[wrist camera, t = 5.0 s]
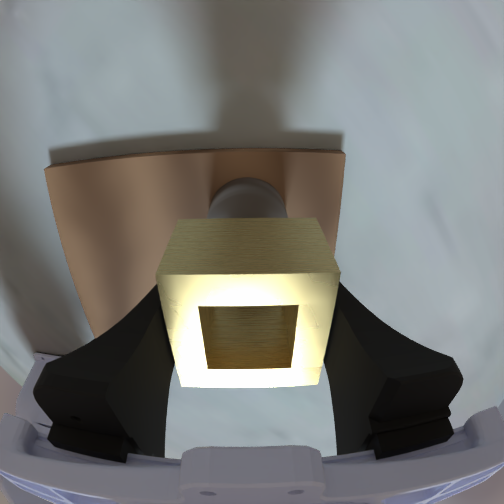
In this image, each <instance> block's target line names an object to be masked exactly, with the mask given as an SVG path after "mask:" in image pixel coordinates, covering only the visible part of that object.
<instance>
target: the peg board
mask: <svg viewBox="0 0 504 504" xmlns="http://www.w3.org/2000/svg"><path fill="white" fill-rule="evenodd" d="M345 155H346V154H345V153H344V152H342V151H341V150H321V149H291V148H232V149H201V150H181V151H166V152H152V153H141V154H130V155H120V156H111V157H102V158H94V159H87V160H79V161H72V162H66V163H59V164H53V165H50V166H48V167H46V168H45V169H44V171H45V177H46V182H47V187H48V191H49V196H50V200H51V205H52V209H53V213H54V217H55V221H56V225H57V229H58V232H59V236H60V240H61V243H62V247H63V250H64V253H65V257H66V260H67V263H68V266H69V269H70V273H71V276H72V279H73V282H74V284H75V287H76V290H77V293H78V296H79V299H80V301H81V304H82V307H83V309H84V312H85V315H86V317H87V320H88V322H89V325H90V327H91V330H92V332H93V334H94V337H95V338H97V337H99V336H100V335H102V334H103V333H105V332H106V331H107V330H109V329H110V328H111V327H113V326H114V325H115V324H116V323H118V322H119V321H120V320H121V319H122V318H124V317H125V316H126V315H127V314H128V313H129V312H130V311H131V310H132V309H133V308H134V307H135V306H136V305H137V304H138V303H139V302H140V301H141V300H142V299H143V298H144V297H145V296H146V295H147V294H148V293H149V292H150V290H151V289H152V288H153V287H154V286H155V285H156V284H157V281H156V276H155V274H156V272H157V269H158V267H159V264H160V262H161V259H162V257H163V254H164V252H165V250H166V247H167V245H168V242H169V240H170V238H171V235H172V233H173V231H174V228H175V226H176V224H177V222H178V219H213V218H316V219H317V221H318V223H319V225H320V227H321V229H322V231H323V234H324V236H325V238H326V240H327V242H328V245H329V247H330V249H331V251H332V254H333V256H334V253H335V246H336V239H337V231H338V223H339V215H340V206H341V197H342V188H343V178H344V167H345Z"/></svg>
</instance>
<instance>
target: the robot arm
mask: <svg viewBox="0 0 504 504" xmlns="http://www.w3.org/2000/svg"><path fill="white" fill-rule="evenodd" d="M33 356H34V358H35V360H36V361H35V363H34V365H33V367H32V369H31V371H30V373H29V375H28V377H27V379H26V381H25V383H24V385H23V387H22V389H21V391H20V393H19V395H18V398H17V403H16V416H13V415H10V414H8V413H4V415H3V417H2V420H1V422H0V490H1V492H2V493H3V495H4V496H5V498H6V499H7V501H8V502H9V504H53V503H56V504H434V503H436V502H439V501H441V500H443V499H446V498H448V497H450V496H453V495H455V494H458V493H460V492H462V491H464V490H466V489H468V488H471V487H473V486H475V485H477V484H479V483H481V482H483V481H485V480H486V479H488V478H489V477H490V476H492V475H493V474H494V473H496V472H497V471H498V470H499V469H501V468H502V467H503V466H504V421H503V419H502V416H501V414H500V412H499V410H498V408H497V406H494V407H491V408H489V409H486V410H483V411H480V412H478V413H476V414H474V415H473V416H471V417H470V418H469V419H468V420H467V421H466V423H465V424H464V426H462V427H459V428H456V429H453V428H452V426H451V423H450V421H449V419H448V417H449V416H450V415H451V412H450V409H449V407H448V406H449V404H450V403H451V401H452V400H453V399H454V397H455V396H456V394H457V393H458V392H459V390H460V388H461V386H462V383H463V376H462V374H461V372H460V370H459V368H458V366H457V364H456V363H455V361H454V359H453V358H452V357H450V356H447V355H444V354H442V353H439V352H436V351H434V350H431V349H429V348H427V347H425V346H423V345H420V344H418V343H416V342H415V341H413V340H411V339H409V338H407V337H406V336H404V335H402V334H401V333H399V332H397V331H396V330H394V329H393V328H391V327H390V326H388V325H387V324H386V323H384V322H383V321H382V320H380V319H379V318H378V317H376V316H375V315H374V314H373V313H372V312H370V311H369V310H368V309H367V308H366V307H365V306H364V305H363V304H361V303H360V302H359V301H358V300H357V299H356V298H355V297H354V296H353V295H352V294H351V293H350V292H349V291H348V290H347V289H346V288H345V287H344V286H343V285H342V284H341V283H340V282H339V285H338V291H337V296H336V302H335V307H334V312H333V317H332V322H331V327H330V332H329V337H328V341H327V346H326V350H325V355H324V359H323V361H324V364H325V368H326V371H327V375H328V379H329V384H330V391H331V397H332V405H333V413H334V421H335V432H336V445H337V456H329V457H321V453H320V451H319V450H317V449H314V448H312V447H309V446H297V445H288V446H267V447H213V446H211V447H196V448H193V449H190V450H188V451H186V452H184V453H183V454H182V458H181V459H170V458H165V430H166V416H167V405H168V396H169V387H170V381H171V376H172V372H173V368H174V364H175V360H174V356H173V352H172V348H171V344H170V340H169V336H168V332H167V327H166V323H165V319H164V314H163V310H162V305H161V301H160V296H159V291H158V286H157V284H156V285H155V286H154V287H153V288H152V289H151V290H150V292H149V293H148V294H147V295H146V296H145V297H144V298H143V299H142V300H141V301H140V302H139V303H138V304H137V305H136V306H135V307H134V308H133V309H132V310H131V311H130V312H129V313H128V314H127V315H126V316H125V317H124V318H122V319H121V320H120V321H119V322H118V323H116V324H115V325H114V326H113V327H111V328H110V329H109V330H107V331H106V332H105V333H103V334H102V335H100V336H99V337H97V338H95V339H94V340H92V341H91V342H89V343H88V344H86V345H84V346H82V347H81V348H79V349H77V350H75V351H73V352H71V353H69V354H67V355H65V356H62V357H60V356H54V355H48V354H42V353H34V355H33ZM38 496H39V497H38ZM40 497H41V498H40ZM42 498H43V499H42ZM44 499H46V500H48V501H51V502H53V503H51V502H48V501H46V500H44Z"/></svg>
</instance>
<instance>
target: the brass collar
mask: <svg viewBox="0 0 504 504" xmlns="http://www.w3.org/2000/svg"><path fill="white" fill-rule="evenodd" d="M340 274H341V272H340V270H339V267H338V265H337V263H336V260H335V258H334V256H333V254H332V251H331V249H330V247H329V245H328V242H327V240H326V238H325V236H324V234H323V231H322V229H321V227H320V225H319V223H318V221H317V219H316V218H213V219H178V222H177V224H176V226H175V228H174V231H173V233H172V235H171V238H170V240H169V242H168V245H167V247H166V250H165V252H164V254H163V257H162V259H161V262H160V264H159V267H158V269H157V272H156V274H155V276H156V281H157V286H158V291H159V296H160V301H161V305H162V310H163V314H164V319H165V323H166V327H167V332H168V336H169V340H170V344H171V348H172V352H173V356H174V360H175V364H176V367H177V371H178V375H179V379H180V382H181V386H189V387H231V388H240V387H282V386H301V385H316V384H318V380H319V376H320V372H321V368H322V363H323V359H324V355H325V350H326V346H327V341H328V337H329V332H330V327H331V322H332V317H333V312H334V307H335V302H336V296H337V291H338V285H339V280H340Z"/></svg>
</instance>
